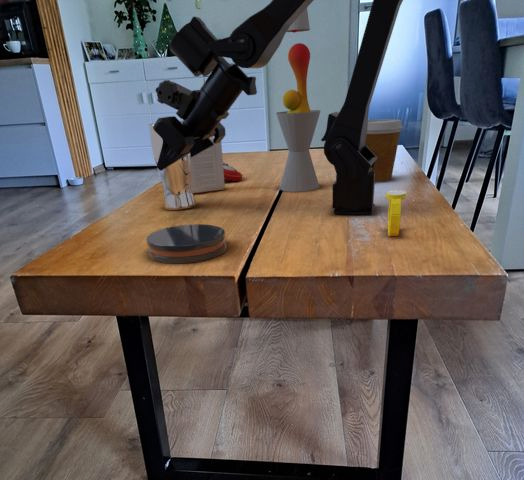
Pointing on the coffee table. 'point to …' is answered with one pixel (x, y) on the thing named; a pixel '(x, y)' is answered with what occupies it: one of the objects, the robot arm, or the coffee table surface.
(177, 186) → the beer glass
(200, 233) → the coaster stack
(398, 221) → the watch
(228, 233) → the coffee table surface
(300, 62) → the lava lamp
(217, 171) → the photo printer
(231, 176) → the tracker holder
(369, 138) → the disposable coffee cup
